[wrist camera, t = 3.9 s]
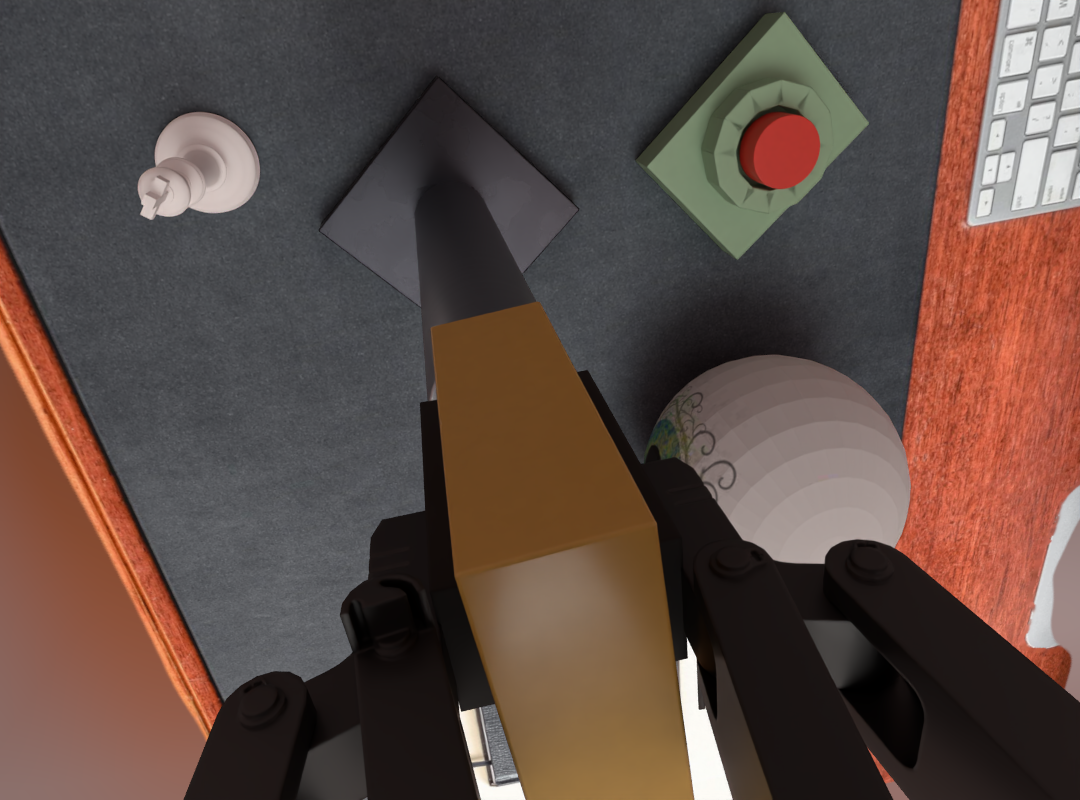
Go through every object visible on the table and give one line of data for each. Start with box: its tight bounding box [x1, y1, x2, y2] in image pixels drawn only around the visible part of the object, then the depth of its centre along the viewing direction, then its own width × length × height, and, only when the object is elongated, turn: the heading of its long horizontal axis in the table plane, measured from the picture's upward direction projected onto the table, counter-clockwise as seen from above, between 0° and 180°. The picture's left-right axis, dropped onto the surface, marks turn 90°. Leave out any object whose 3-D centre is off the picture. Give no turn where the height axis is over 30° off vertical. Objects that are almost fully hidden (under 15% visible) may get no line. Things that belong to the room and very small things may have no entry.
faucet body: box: [319, 76, 579, 401], centre depth 29 cm, size 10×10×24 cm
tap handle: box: [430, 302, 694, 800], centre depth 16 cm, size 16×2×10 cm, turn 11°
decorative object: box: [644, 355, 911, 564], centre depth 43 cm, size 15×15×15 cm
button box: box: [636, 12, 869, 260], centre depth 39 cm, size 10×8×4 cm
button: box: [739, 112, 820, 189], centre depth 37 cm, size 4×4×2 cm
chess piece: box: [138, 112, 260, 220], centre depth 32 cm, size 5×5×10 cm
